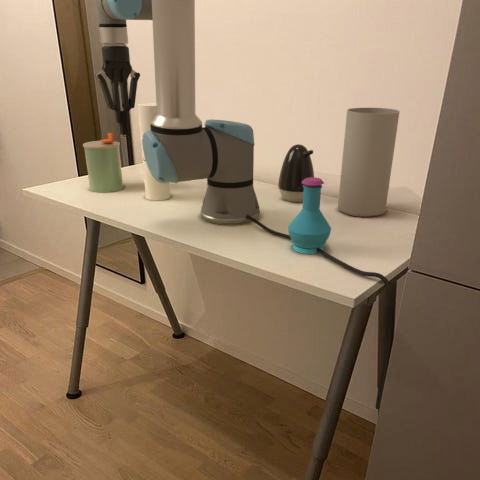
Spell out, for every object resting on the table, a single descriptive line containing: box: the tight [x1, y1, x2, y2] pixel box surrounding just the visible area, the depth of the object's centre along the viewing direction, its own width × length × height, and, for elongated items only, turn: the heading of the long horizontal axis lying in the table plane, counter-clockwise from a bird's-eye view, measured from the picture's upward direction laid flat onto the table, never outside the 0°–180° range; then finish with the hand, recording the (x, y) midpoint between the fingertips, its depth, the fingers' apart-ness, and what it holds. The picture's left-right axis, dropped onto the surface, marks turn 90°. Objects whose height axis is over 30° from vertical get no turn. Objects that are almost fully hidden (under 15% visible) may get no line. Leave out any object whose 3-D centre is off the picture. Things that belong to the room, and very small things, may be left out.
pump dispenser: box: [278, 143, 315, 203], centre depth 141 cm, size 10×10×15 cm
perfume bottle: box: [287, 176, 332, 255], centre depth 107 cm, size 9×9×15 cm
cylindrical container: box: [137, 102, 171, 201], centre depth 141 cm, size 7×7×25 cm
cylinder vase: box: [337, 107, 401, 218], centre depth 129 cm, size 12×12×25 cm
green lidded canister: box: [82, 140, 124, 193], centre depth 153 cm, size 11×11×13 cm
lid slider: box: [99, 132, 116, 143], centre depth 150 cm, size 4×3×2 cm
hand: (124, 134), depth 152 cm, fingers closed
